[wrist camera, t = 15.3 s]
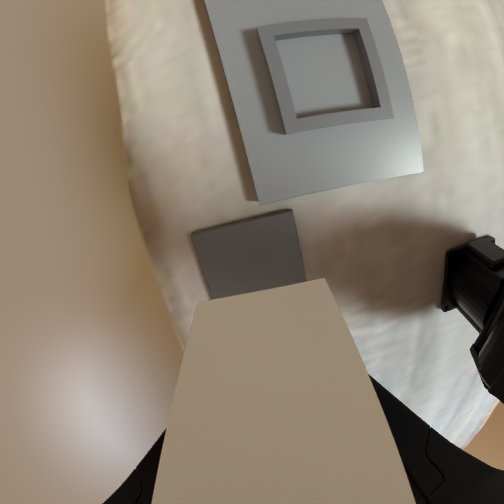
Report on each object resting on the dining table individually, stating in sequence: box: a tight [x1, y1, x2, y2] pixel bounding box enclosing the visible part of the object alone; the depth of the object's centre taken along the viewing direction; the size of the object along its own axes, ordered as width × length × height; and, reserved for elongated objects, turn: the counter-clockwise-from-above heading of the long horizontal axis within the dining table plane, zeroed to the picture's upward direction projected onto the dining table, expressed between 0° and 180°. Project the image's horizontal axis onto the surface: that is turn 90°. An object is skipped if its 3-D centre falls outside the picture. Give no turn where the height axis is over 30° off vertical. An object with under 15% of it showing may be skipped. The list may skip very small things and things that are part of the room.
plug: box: [152, 278, 416, 504], centre depth 6 cm, size 4×4×9 cm
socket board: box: [204, 0, 424, 205], centre depth 10 cm, size 21×12×10 cm, turn 14°
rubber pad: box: [191, 209, 306, 299], centre depth 21 cm, size 7×7×1 cm
